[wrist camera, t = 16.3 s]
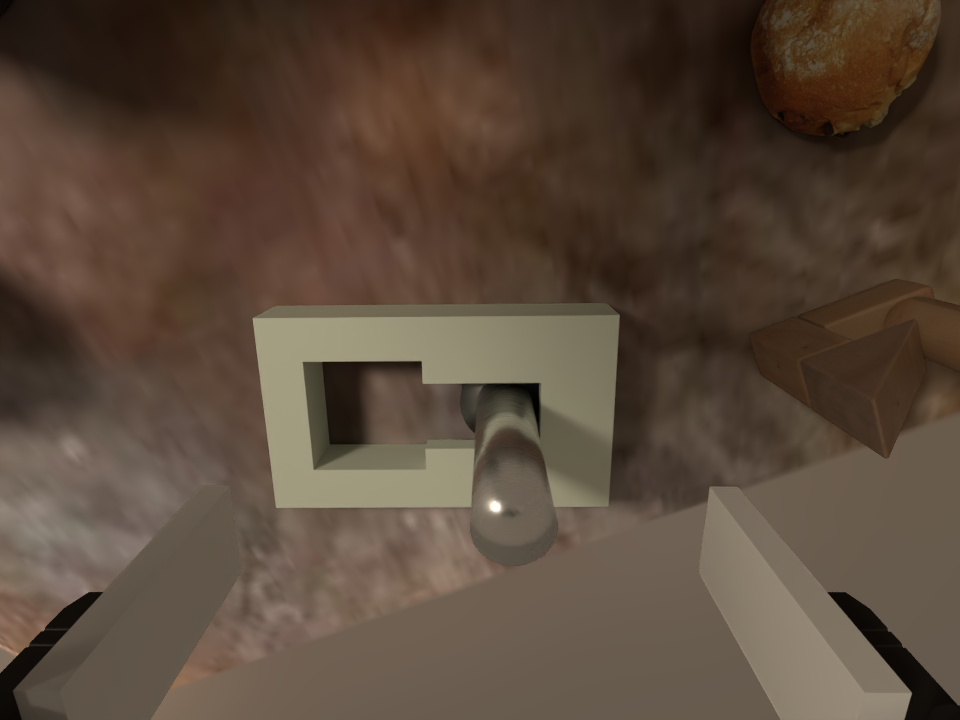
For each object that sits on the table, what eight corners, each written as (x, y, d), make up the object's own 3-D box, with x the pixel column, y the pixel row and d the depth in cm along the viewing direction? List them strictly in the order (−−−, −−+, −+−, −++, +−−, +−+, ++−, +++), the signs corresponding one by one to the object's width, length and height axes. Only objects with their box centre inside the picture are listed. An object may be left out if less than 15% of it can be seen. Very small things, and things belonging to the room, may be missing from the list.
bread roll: (871, 6, 39) (962, -107, 31) (901, 144, 38) (1005, 62, 30) (724, 22, 40) (777, -85, 32) (748, 160, 38) (810, 83, 30)
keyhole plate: (295, 479, 46) (276, 507, 42) (275, 305, 42) (252, 318, 38) (597, 478, 45) (608, 506, 41) (606, 303, 41) (619, 315, 37)
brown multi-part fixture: (746, 332, 42) (927, 430, 25) (895, 276, 41) (1196, 338, 23) (759, 376, 43) (942, 501, 26) (905, 323, 42) (1202, 416, 24)
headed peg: (462, 434, 44) (445, 587, 27) (460, 354, 43) (441, 464, 25) (545, 433, 44) (581, 587, 27) (546, 353, 43) (586, 464, 25)
